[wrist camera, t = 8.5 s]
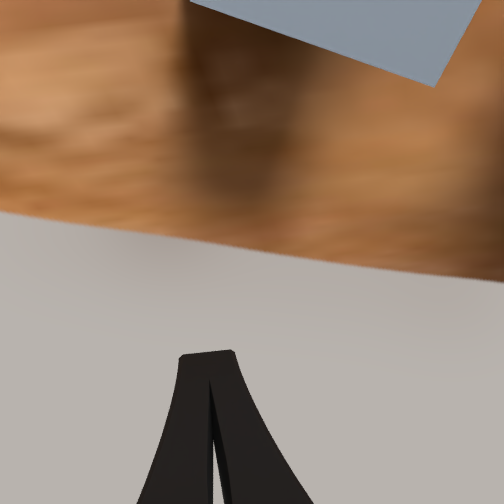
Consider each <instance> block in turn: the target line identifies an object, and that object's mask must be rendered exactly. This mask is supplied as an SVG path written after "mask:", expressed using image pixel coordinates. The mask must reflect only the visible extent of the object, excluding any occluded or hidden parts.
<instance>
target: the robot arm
mask: <svg viewBox="0 0 504 504" xmlns="http://www.w3.org/2000/svg"><path fill="white" fill-rule="evenodd" d="M213 440H214V446H215V452H216V458H217V464H218V469H219V476H220V481H221V487H222V493H223V499H224V504H314V503H313V502H312V501H311V499H310V498H309V496H308V494H307V493H306V491H305V490H304V488H303V487H302V485H301V484H300V482H299V481H298V479H297V478H296V476H295V475H294V473H293V472H292V470H291V468H290V467H289V465H288V463H287V462H286V460H285V459H284V457H283V455H282V453H281V452H280V450H279V449H278V447H277V445H276V443H275V441H274V440H273V438H272V436H271V434H270V433H269V431H268V429H267V427H266V425H265V423H264V421H263V419H262V417H261V415H260V414H259V411H258V409H257V408H256V405H255V403H254V401H253V399H252V397H251V395H250V393H249V391H248V388H247V386H246V383H245V381H244V378H243V376H242V373H241V371H240V368H239V365H238V362H237V359H236V355H235V352H234V351H232V350H221V351H212V352H203V353H194V354H184V355H182V356H181V357H180V358H179V363H178V372H177V379H176V384H175V389H174V393H173V397H172V402H171V405H170V409H169V412H168V416H167V420H166V423H165V426H164V429H163V433H162V436H161V439H160V442H159V445H158V448H157V451H156V454H155V457H154V459H153V462H152V465H151V468H150V471H149V473H148V476H147V479H146V482H145V484H144V487H143V489H142V492H141V494H140V497H139V499H138V502H137V504H213Z"/></svg>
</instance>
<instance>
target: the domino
mask: <svg viewBox="0 0 504 504" xmlns="http://www.w3.org/2000/svg"><path fill="white" fill-rule="evenodd" d="M190 1H191V2H193V3H196V4H199V5H202V6H205V7H208V8H210V9H213V10H216V11H219V12H222V13H225V14H227V15H230V16H233V17H236V18H239V19H242V20H244V21H247V22H250V23H253V24H256V25H259V26H261V27H264V28H267V29H270V30H273V31H276V32H278V33H281V34H284V35H287V36H290V37H293V38H295V39H298V40H301V41H304V42H307V43H310V44H312V45H315V46H318V47H321V48H324V49H327V50H329V51H332V52H335V53H338V54H341V55H344V56H346V57H349V58H352V59H355V60H358V61H361V62H363V63H366V64H369V65H372V66H375V67H378V68H380V69H383V70H386V71H389V72H392V73H395V74H397V75H400V76H403V77H406V78H409V79H412V80H414V81H417V82H420V83H423V84H426V85H429V86H431V87H435V85H436V84H437V82H438V80H439V78H440V76H441V74H442V73H443V71H444V69H445V67H446V65H447V63H448V61H449V60H450V58H451V56H452V54H453V52H454V50H455V49H456V47H457V45H458V43H459V41H460V39H461V37H462V36H463V34H464V32H465V30H466V28H467V26H468V25H469V23H470V21H471V19H472V17H473V15H474V13H475V12H476V10H477V8H478V6H479V4H480V2H481V1H482V0H190Z"/></svg>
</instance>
